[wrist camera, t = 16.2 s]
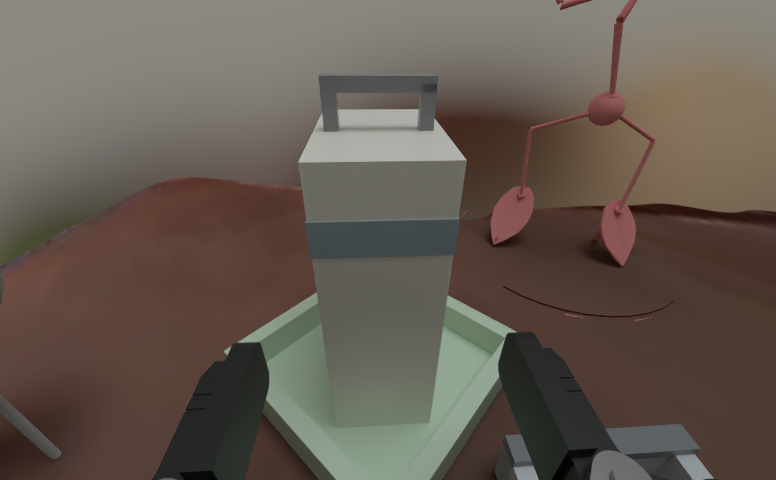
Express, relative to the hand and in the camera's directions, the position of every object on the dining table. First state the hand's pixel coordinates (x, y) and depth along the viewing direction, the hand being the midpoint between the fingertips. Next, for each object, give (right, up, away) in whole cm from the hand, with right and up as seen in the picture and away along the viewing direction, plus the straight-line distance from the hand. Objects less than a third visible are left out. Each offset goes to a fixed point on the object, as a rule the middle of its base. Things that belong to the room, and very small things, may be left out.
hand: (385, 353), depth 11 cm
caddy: (0, -5, +12) cm, 13 cm away
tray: (-1, -6, +12) cm, 14 cm away
